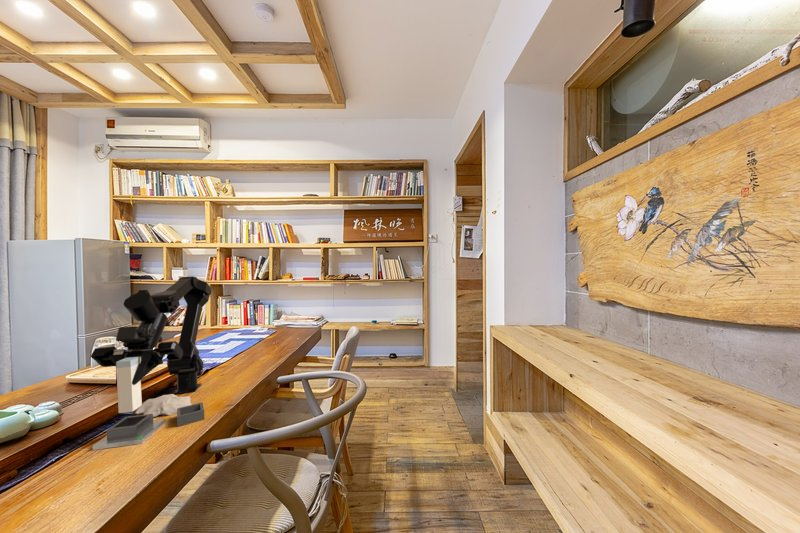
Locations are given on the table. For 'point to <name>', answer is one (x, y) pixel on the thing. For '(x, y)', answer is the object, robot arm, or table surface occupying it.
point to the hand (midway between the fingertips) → (125, 384)
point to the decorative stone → (163, 405)
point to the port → (129, 431)
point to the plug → (128, 385)
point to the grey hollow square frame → (190, 414)
